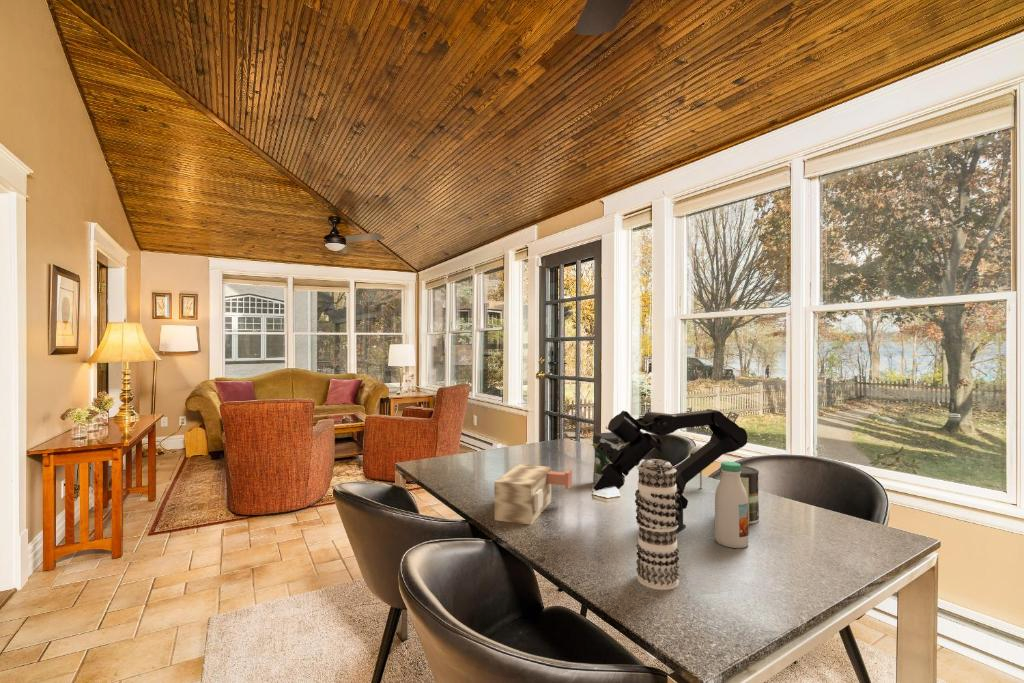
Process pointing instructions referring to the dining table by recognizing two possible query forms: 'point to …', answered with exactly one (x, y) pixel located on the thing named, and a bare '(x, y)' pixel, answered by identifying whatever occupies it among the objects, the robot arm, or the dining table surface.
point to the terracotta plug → (560, 478)
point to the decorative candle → (657, 525)
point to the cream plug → (538, 499)
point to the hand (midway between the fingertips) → (594, 489)
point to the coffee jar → (601, 458)
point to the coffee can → (750, 491)
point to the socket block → (521, 493)
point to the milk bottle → (731, 508)
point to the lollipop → (692, 454)
